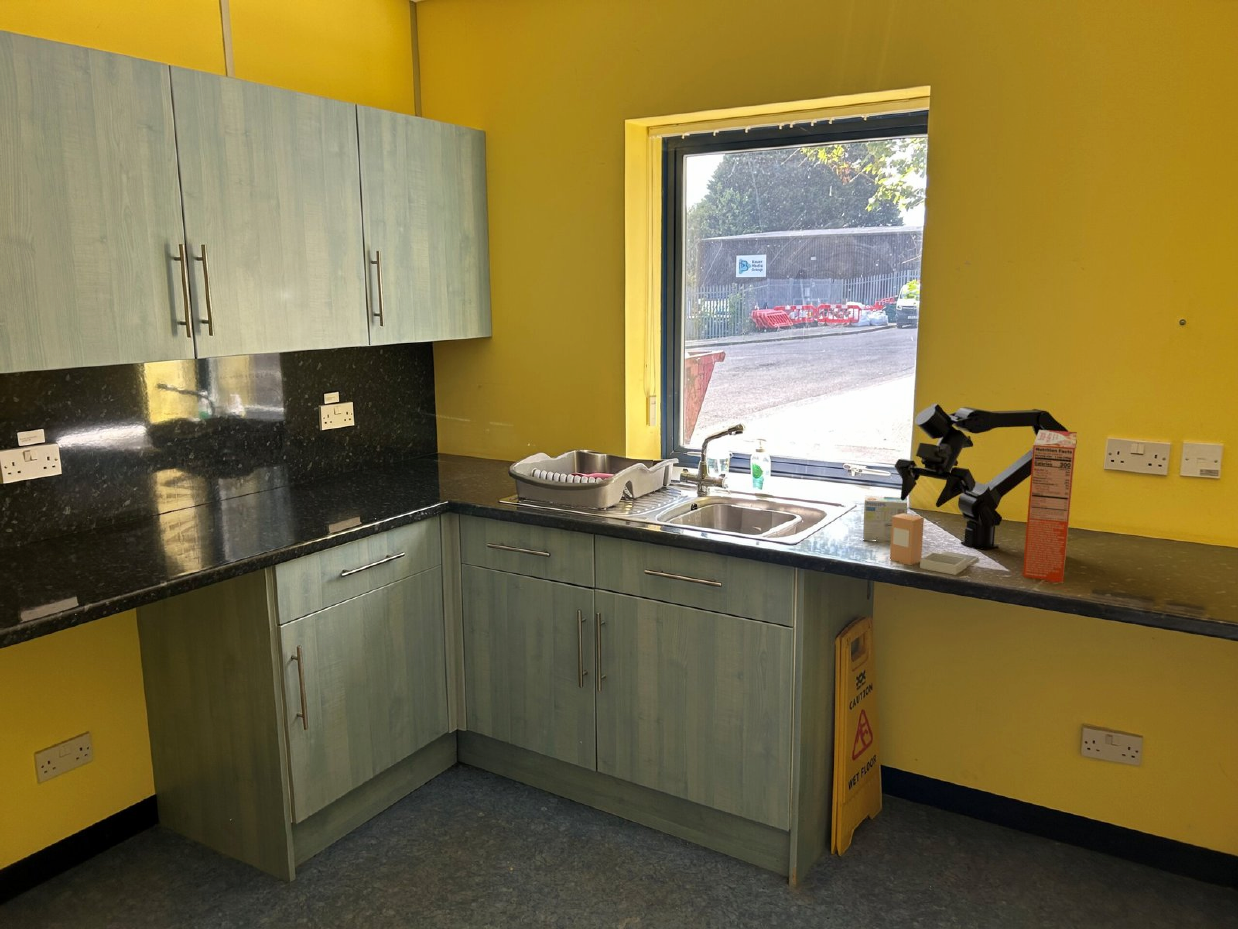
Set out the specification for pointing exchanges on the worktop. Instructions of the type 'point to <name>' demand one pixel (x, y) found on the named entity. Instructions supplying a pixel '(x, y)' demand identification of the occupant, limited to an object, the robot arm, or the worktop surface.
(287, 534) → the worktop surface
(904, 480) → the robot arm
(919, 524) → the block
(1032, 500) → the orange cereal box
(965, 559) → the case
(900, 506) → the light bulb box
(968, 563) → the case lid
